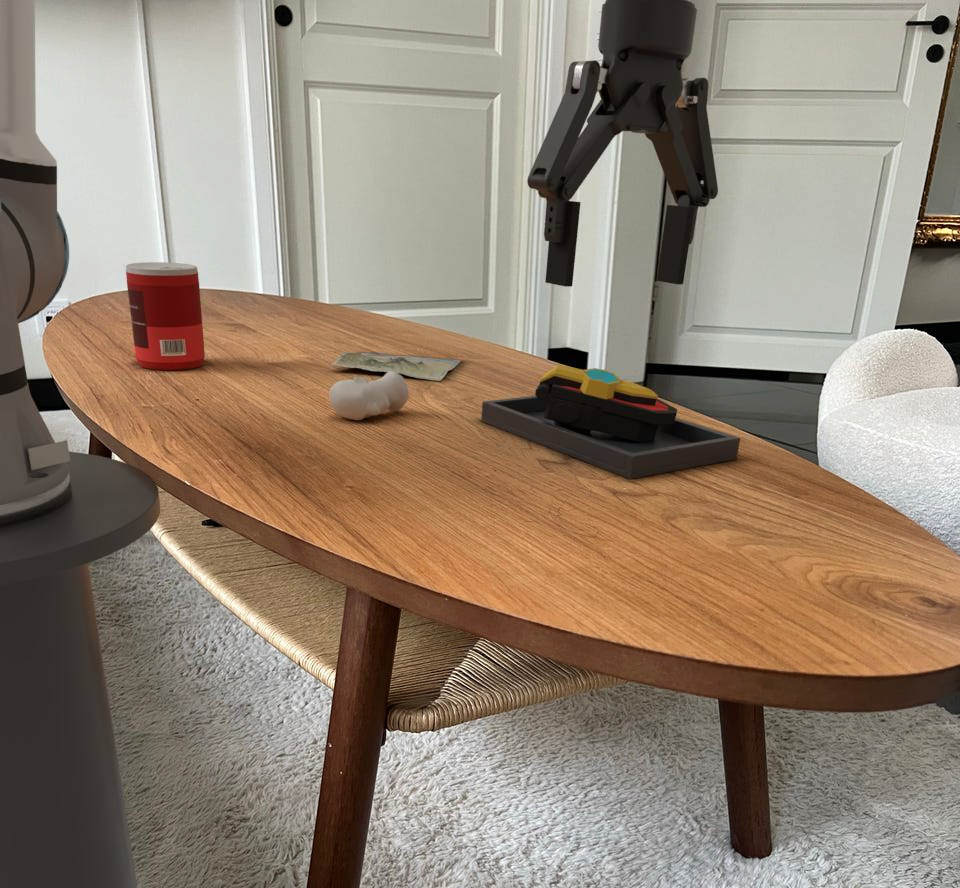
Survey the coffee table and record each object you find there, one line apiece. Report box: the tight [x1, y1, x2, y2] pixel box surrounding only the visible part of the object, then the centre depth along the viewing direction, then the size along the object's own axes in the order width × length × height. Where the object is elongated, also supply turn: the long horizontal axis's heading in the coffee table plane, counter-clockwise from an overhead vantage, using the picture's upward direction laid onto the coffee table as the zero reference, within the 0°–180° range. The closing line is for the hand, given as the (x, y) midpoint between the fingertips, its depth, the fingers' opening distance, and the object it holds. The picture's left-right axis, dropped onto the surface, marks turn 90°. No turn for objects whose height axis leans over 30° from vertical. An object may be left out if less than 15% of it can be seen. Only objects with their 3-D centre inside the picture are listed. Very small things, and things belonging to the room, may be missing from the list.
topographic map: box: [330, 351, 461, 382], centre depth 117 cm, size 14×14×2 cm
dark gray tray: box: [481, 395, 741, 480], centre depth 90 cm, size 22×14×2 cm, turn 36°
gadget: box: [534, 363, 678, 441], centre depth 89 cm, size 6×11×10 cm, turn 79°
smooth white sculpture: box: [328, 371, 409, 421], centre depth 93 cm, size 4×8×5 cm
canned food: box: [125, 261, 206, 371], centre depth 109 cm, size 8×8×11 cm
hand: (616, 284), depth 84 cm, fingers open, 13 cm apart
